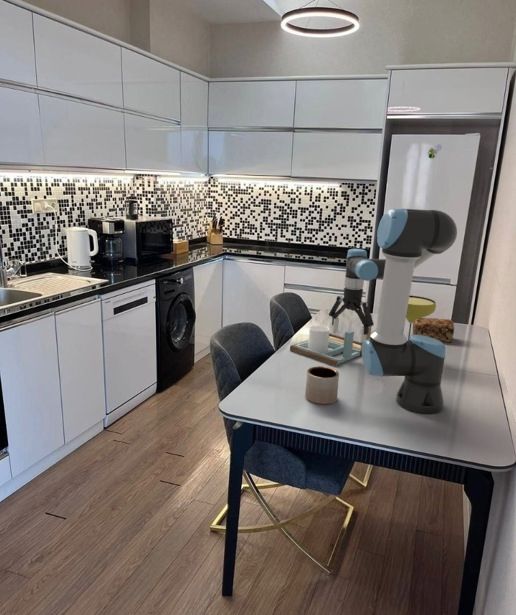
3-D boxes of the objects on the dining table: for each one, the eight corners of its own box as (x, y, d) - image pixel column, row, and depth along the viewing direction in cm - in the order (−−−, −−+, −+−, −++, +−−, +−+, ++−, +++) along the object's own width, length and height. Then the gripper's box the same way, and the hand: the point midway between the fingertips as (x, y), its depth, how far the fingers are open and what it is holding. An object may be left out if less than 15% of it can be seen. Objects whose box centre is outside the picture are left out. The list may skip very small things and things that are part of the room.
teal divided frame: (336, 364, 193) (339, 336, 190) (294, 350, 208) (296, 323, 205) (359, 355, 205) (362, 328, 202) (318, 342, 220) (320, 317, 217)
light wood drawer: (362, 354, 206) (364, 328, 203) (320, 341, 221) (322, 317, 218) (370, 350, 211) (373, 325, 208) (329, 338, 226) (331, 314, 223)
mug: (335, 350, 211) (337, 327, 208) (319, 356, 202) (321, 332, 199) (320, 345, 216) (321, 323, 213) (303, 351, 208) (305, 328, 205)
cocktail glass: (404, 365, 197) (411, 306, 190) (377, 350, 212) (383, 296, 206) (437, 360, 204) (445, 303, 198) (408, 346, 220) (415, 294, 214)
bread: (450, 337, 237) (453, 318, 235) (452, 344, 227) (455, 324, 225) (411, 332, 242) (413, 314, 240) (411, 339, 232) (414, 319, 230)
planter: (329, 408, 155) (331, 381, 153) (299, 399, 161) (301, 373, 158) (341, 396, 164) (344, 371, 162) (313, 388, 170) (315, 363, 167)
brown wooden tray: (335, 366, 192) (335, 361, 191) (289, 350, 208) (290, 345, 207) (372, 350, 212) (373, 346, 212) (328, 337, 228) (329, 333, 228)
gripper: (386, 292, 186) (379, 343, 192) (333, 280, 203) (329, 328, 208) (376, 295, 181) (370, 347, 187) (323, 283, 198) (319, 331, 203)
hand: (348, 337), depth 198 cm, fingers open, 13 cm apart
